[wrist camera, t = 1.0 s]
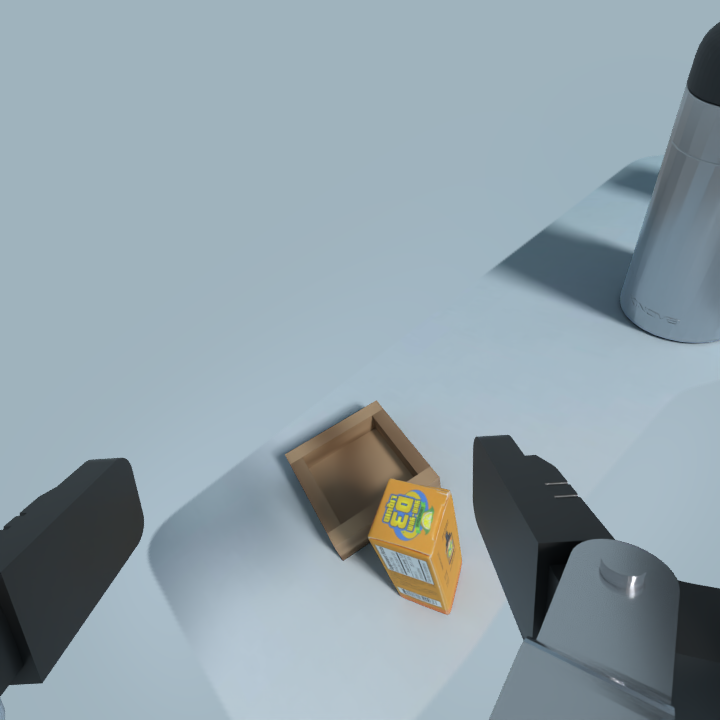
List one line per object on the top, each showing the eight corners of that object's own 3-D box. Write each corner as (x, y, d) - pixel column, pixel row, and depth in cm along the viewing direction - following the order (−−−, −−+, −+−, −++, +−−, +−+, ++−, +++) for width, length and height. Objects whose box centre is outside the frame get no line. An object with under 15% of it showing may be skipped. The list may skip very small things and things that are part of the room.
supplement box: (410, 544, 29) (389, 470, 22) (463, 562, 27) (459, 489, 20) (394, 597, 27) (365, 535, 20) (449, 619, 26) (440, 561, 18)
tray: (381, 418, 36) (376, 400, 34) (441, 494, 31) (439, 477, 29) (294, 471, 34) (284, 454, 32) (343, 560, 29) (334, 547, 27)
